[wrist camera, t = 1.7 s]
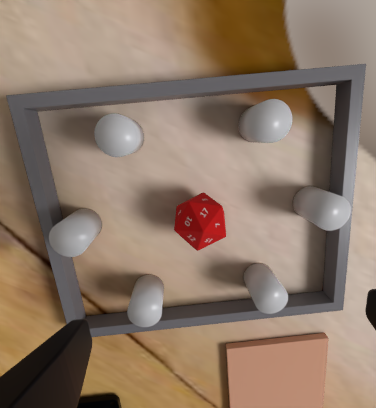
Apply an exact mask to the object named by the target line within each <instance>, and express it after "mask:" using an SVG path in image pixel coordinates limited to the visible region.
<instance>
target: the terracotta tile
mask: <svg viewBox="0 0 376 408" xmlns="http://www.w3.org/2000/svg"><path fill="white" fill-rule="evenodd" d="M327 350H328V337H327V336H326V334H325V333H318V334H309V335H300V336H291V337H282V338H273V339H264V340H254V341H245V342H236V343H227V344H226V358H227V375H228V392H229V408H323V402H324V389H325V376H326V363H327Z"/></svg>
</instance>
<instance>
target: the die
mask: <svg viewBox="0 0 376 408" xmlns="http://www.w3.org/2000/svg"><path fill="white" fill-rule="evenodd" d="M174 230H175V231H176V232H177V233H178V234H179V235H180V236H181V237H182V238H183V239H184V240H186V241H187V242H188V243H189V244H190V245H191V246H192V247H193V248H195V249H196V250H197V251H198V250H200V249H202V248H204V247H206V246H208V245H210V244H212V243H214V242H216V241H218V240H220V239H222V238H224V237H226V229H225V217H224V211H223V208H222V206H221V205H220V204H219V203H217V202H216V201H215V200H213V199H212V198H210V197H209V196H208V195H206V194H205V193H201V194H199V195H197V196H195V197H193V198H191V199H189V200H187V201H185V202H184V203H182V204H180V205H178V206H177V207H176V217H175V227H174Z"/></svg>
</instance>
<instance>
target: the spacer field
mask: <svg viewBox="0 0 376 408" xmlns="http://www.w3.org/2000/svg"><path fill="white" fill-rule="evenodd" d="M365 68H366V64H358V65H347V66H337V67H325V68H313V69H302V70H290V71H279V72H268V73H256V74H245V75H234V76H222V77H211V78H200V79H188V80H177V81H165V82H154V83H143V84H131V85H120V86H109V87H97V88H86V89H75V90H63V91H52V92H41V93H29V94H18V95H7V96H6V97H7V101H8V104H9V108H10V112H11V116H12V120H13V123H14V127H15V131H16V135H17V138H18V142H19V146H20V150H21V153H22V157H23V161H24V165H25V168H26V172H27V176H28V180H29V183H30V187H31V191H32V195H33V199H34V202H35V206H36V210H37V214H38V217H39V221H40V225H41V229H42V232H43V236H44V240H45V244H46V247H47V251H48V255H49V259H50V262H51V266H52V270H53V274H54V278H55V281H56V285H57V289H58V293H59V296H60V300H61V304H62V308H63V311H64V315H65V319H66V323H67V324H68V323H69V322H70V321H72V320H75V319H86V320H87V321H88V324H89V329H90V333H91V337H97V336H106V335H116V334H125V333H134V332H144V331H153V330H162V329H171V328H181V327H190V326H199V325H209V324H218V323H227V322H236V321H246V320H255V319H264V318H274V317H283V316H292V315H301V314H311V313H320V312H329V311H338V310H343V304H344V293H345V283H346V272H347V261H348V251H349V240H350V229H351V219H352V208H353V197H354V187H355V176H356V165H357V155H358V144H359V133H360V122H361V112H362V101H363V90H364V80H365ZM325 85H336V100H335V115H334V130H333V145H332V161H331V176H330V191H329V192H328V191H325V190H322V189H319V188H316V187H313V186H308V187H305V188H302V189H301V190H299V191H298V192H297V194H296V195H295V197H294V199H293V208H294V210H295V212H296V213H297V214H299V215H300V216H302V217H303V218H305V219H307V220H308V221H310V222H312V223H313V224H315V225H316V226H318V227H320V228H321V229H323V230H327V236H326V251H325V266H324V281H323V291H319V292H310V293H300V294H291V295H288V293H287V291H286V290H285V288H284V287H283V286H282V284H281V283H280V281H279V280H278V279H277V277H276V276H275V274H274V273H273V272H272V270H271V269H270V268H269V267H268V266H267V265H265V264H262V263H256V264H253V265H251V266H249V267H248V268H247V269H246V271H245V272H244V276H243V279H244V282H245V284H246V286H247V288H248V291H249V293H250V295H251V297H252V299H244V300H234V301H225V302H216V303H206V304H197V305H187V306H178V307H168V308H162V304H163V293H164V284H163V282H162V280H161V279H160V278H159V277H157V276H155V275H143V276H141V277H140V278H139V279H138V280H137V281H136V283H135V286H134V289H133V293H132V296H131V300H130V303H129V306H128V310H127V312H121V313H112V314H102V315H93V316H86V314H85V310H84V306H83V301H82V297H81V293H80V289H79V285H78V280H77V276H76V272H75V268H74V264H73V260H72V257H75V256H78V255H80V254H82V253H83V252H84V251H85V250H86V248H87V247H88V246H89V245H90V244H91V242H92V241H93V240H94V239H95V238H96V236H97V235H98V234H99V233H100V231H101V229H102V221H101V218H100V217H99V215H98V214H97V213H96V212H94V211H93V210H90V209H86V208H82V209H78V210H76V211H75V212H73V213H72V214H70V215H69V216H68V217H66V218H65V219H63V218H62V213H61V209H60V205H59V201H58V197H57V192H56V188H55V184H54V180H53V176H52V171H51V167H50V163H49V159H48V155H47V150H46V146H45V142H44V138H43V134H42V129H41V125H40V121H39V117H38V113H37V111H48V110H59V109H70V108H81V107H92V106H103V105H115V104H126V103H137V102H148V101H159V100H170V99H181V98H193V97H204V96H215V95H226V94H237V93H248V92H260V91H271V90H282V89H293V88H304V87H315V86H325ZM291 125H292V113H291V110H290V108H289V107H288V106H287V104H285V103H284V102H283V101H281V100H278V99H269V100H266V101H264V102H261V103H259V104H257V105H255V106H252V107H250V108H248V109H246V110H245V111H244V112H243V113H242V115H241V117H240V119H239V124H238V127H239V132H240V134H241V136H242V137H243V138H244V139H245V140H247V141H250V142H261V143H273V142H277V141H279V140H281V139H282V138H284V137H285V136H286V135H287V133H288V132H289V130H290V128H291ZM94 135H95V140H96V143H97V145H98V147H99V148H100V149H101V150H102V151H103V152H104V153H105V154H107V155H109V156H112V157H122V156H126V155H129V154H132V153H135V152H136V151H138V150H139V149H140V148H141V146H142V144H143V142H144V133H143V130H142V128H141V126H140V125H139V124H138V123H137V122H136V121H134V120H132V119H130V118H128V117H126V116H123V115H121V114H116V113H113V114H108V115H105V116H104V117H102V118H101V119H100V120H99V121H98V123H97V125H96V127H95V133H94Z"/></svg>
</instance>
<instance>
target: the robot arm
mask: <svg viewBox="0 0 376 408" xmlns="http://www.w3.org/2000/svg"><path fill="white" fill-rule="evenodd" d="M366 315H367V318H368V320H369V321H370V323H371V324H372V326H373V327H374V328H375V330H376V289H372V290H370V291H369V292H368V296H367V304H366ZM91 349H92V337H91V333H90V329H89V324H88V321H87V320H86V319H75V320H72V321H70V322H69V323H68V324H67V325H65V326H64V327H63V328H61V329H60V330H59V331H58V332H56V333H55V334H54V335H53V336H51V337H50V338H49V339H48V340H46V341H45V342H44V343H43V344H41V345H40V346H39V347H38V348H36V349H35V350H34V351H33V352H31V353H30V354H29V355H27V356H26V357H25V358H24V359H22V360H21V361H20V362H19V363H17V364H16V365H15V366H14V367H12V368H11V369H10V370H9V371H7V372H6V373H5V374H4V375H2V376H1V377H0V408H121V404H120V399H119V397H118V396H116V395H110V396H101V397H92V398H83V399H79V398H80V394H81V390H82V386H83V382H84V378H85V374H86V369H87V365H88V361H89V357H90V353H91Z"/></svg>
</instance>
